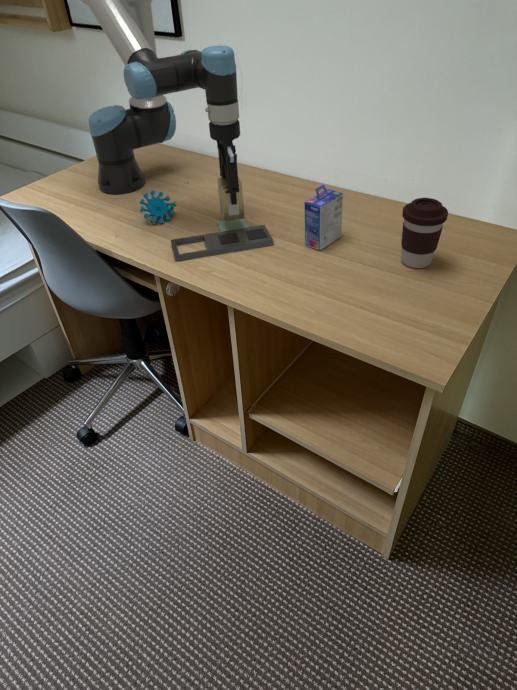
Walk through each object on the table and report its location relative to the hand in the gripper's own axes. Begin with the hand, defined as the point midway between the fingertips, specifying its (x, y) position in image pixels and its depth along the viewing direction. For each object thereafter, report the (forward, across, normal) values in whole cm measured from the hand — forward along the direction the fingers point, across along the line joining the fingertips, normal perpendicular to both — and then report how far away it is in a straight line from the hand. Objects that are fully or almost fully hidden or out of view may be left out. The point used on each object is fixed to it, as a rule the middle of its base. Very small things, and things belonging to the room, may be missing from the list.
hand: (231, 209), depth 136 cm
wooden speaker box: (+2, 0, 0) cm, 2 cm away
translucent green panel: (+5, 0, 0) cm, 5 cm away
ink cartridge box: (+6, +15, +21) cm, 27 cm away
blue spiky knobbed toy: (+6, -12, -19) cm, 24 cm away
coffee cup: (+6, +32, +39) cm, 51 cm away
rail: (+5, +9, -5) cm, 12 cm away
